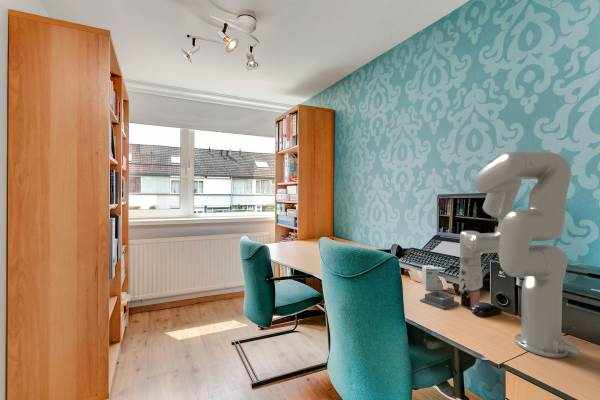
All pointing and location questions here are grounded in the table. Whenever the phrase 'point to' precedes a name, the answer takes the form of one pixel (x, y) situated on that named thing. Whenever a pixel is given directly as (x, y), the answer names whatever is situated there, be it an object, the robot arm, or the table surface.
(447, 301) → the grey flanged tray
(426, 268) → the light bulb box
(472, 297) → the reddish brown block
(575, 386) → the table surface
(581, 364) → the table surface
